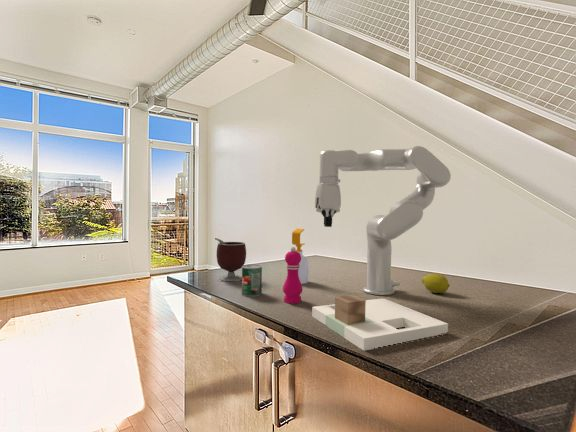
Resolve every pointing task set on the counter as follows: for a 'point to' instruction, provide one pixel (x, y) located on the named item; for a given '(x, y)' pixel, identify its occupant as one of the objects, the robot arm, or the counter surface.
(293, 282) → the pepper mill
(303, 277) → the soap bottle
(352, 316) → the walnut block
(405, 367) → the counter surface
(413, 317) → the board
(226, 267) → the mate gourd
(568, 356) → the counter surface
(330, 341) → the counter surface
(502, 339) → the counter surface
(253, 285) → the canned tomato
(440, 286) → the lemon
